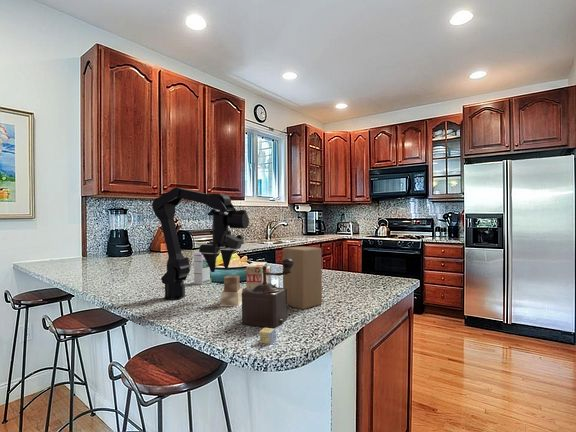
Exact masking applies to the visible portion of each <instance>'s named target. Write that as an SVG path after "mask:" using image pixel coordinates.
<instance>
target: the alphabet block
mask: <svg viewBox="0 0 576 432" xmlns="http://www.w3.org/2000/svg"><path fill="white" fill-rule="evenodd" d="M276 335H277V332H276V328H274V329H272V328H262V329H261V330H259V343H260V344H267V345H272V344H273V343H275V341H277V336H276Z"/></svg>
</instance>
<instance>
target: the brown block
mask: <svg viewBox="0 0 576 432" xmlns="http://www.w3.org/2000/svg"><path fill="white" fill-rule="evenodd" d="M240 280H241V279H240V275H238V274H237V275H226V276H224V277H223V291H224V292H237V291H239V290H240V289H241V287H240V284H241V283H240V282H241V281H240Z"/></svg>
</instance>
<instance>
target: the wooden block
mask: <svg viewBox="0 0 576 432" xmlns="http://www.w3.org/2000/svg"><path fill="white" fill-rule="evenodd" d="M286 258H287V259H291V260H293V266H292V268H291V273H288V274H287V275H285V274H284V275H282V288H287V307H292V308H297V309H301V310H306V309H309V308H312V307H316V306H320V305H322V304H323V287H322V286H323V282H322V281H323V280H322V279H323V278H322V277H323V273H322V272H323V271H322V269H323V267H322V265H323V263H322V248H321V247H313V246H301V245H300V246H293V247H292V246H291V247H290V246H289V247H283V248H282V261H283V260H284V259H286ZM283 270H284V268H283V267H282V271H283Z"/></svg>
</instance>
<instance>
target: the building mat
mask: <svg viewBox="0 0 576 432" xmlns="http://www.w3.org/2000/svg"><path fill="white" fill-rule="evenodd" d="M241 306H242V302H241V303H240V304H239V305H221V304H220V305H219V307H241Z"/></svg>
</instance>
